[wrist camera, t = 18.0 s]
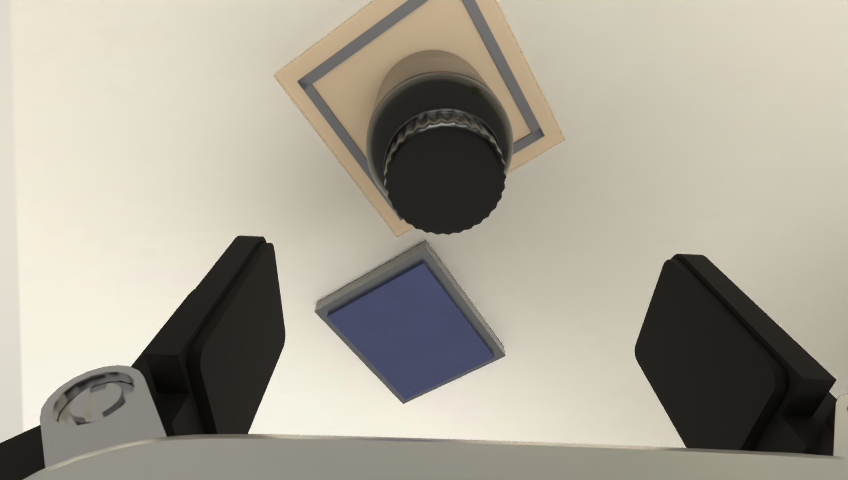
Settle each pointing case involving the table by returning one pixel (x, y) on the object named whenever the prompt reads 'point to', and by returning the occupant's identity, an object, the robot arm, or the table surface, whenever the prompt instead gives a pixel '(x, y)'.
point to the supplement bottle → (439, 142)
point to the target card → (382, 49)
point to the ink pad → (411, 324)
